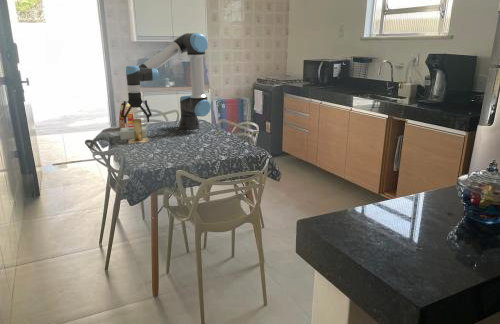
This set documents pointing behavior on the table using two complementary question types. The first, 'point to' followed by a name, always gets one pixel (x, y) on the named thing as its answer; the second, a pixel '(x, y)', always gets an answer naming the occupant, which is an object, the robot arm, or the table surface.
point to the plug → (137, 129)
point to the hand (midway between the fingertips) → (137, 127)
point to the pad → (145, 140)
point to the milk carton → (130, 116)
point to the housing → (131, 133)
